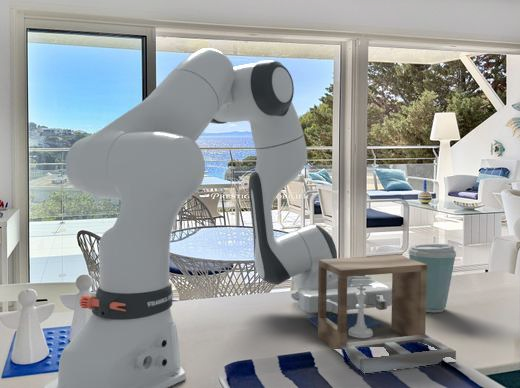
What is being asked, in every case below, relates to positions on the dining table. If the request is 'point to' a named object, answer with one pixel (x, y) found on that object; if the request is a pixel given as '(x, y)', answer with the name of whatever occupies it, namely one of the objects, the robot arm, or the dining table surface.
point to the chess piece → (360, 318)
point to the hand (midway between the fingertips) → (362, 307)
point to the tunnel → (403, 312)
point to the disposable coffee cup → (435, 272)
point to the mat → (348, 320)
